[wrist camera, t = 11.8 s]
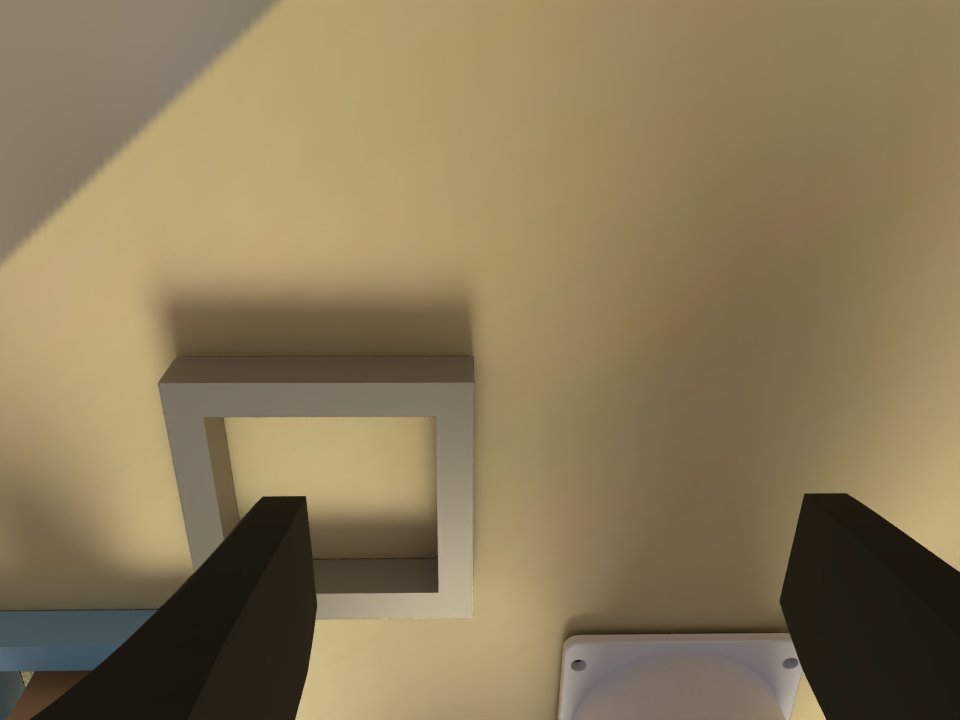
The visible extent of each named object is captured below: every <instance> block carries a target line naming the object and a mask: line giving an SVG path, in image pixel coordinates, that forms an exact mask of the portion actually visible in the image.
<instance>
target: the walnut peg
mask: <svg viewBox="0 0 960 720" xmlns="http://www.w3.org/2000/svg"><path fill="white" fill-rule="evenodd" d="M91 671H92V670H84V671H35V673H34V674H33V676H32V678H31V679H30V681H29V683H28V684H27V686H26V688H25V690H24V691H23V693H22V695H21V696H20V698H19V700H18V701H17V703H16V705H15V706H14V708H13V710H12V712H11V713H10V715H9V717H8V718H7V720H29V719H31V718H32V717H33V716H35V715H36V714H38V713H39V712H40V711H42V710H43V709H45V708H46V707H47V706H49V705H50V704H51V703H53V702H54V701H55V700H56V699H58V698H59V697H60V696H62V695H63V694H64V693H65V692H67V691H68V690H69V689H70V688H72V687H73V686H74V685H75V684H76V683H78V682H79V681H80V680H81V679H83V678H84V677H85V676H86V675H88V674H89V673H90V672H91Z"/></svg>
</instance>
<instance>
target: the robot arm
mask: <svg viewBox="0 0 960 720" xmlns="http://www.w3.org/2000/svg"><path fill="white" fill-rule="evenodd" d="M780 605H781V608H782V611H783V614H784V617H785V620H786V624H787V627H788V630H789V633H733V634H630V635H576V636H572V637H570V638H568V639H567V640H566V641H565V642H564V645H563V653H562V666H561V679H560V693H559V706H558V719H557V720H790V717H791V713H792V710H793V706H794V702H795V698H796V694H797V690H798V687H799V683H800V679H801V675H802V671H804V674H805V676H806V678H807V680H808V682H809V684H810V686H811V688H812V691H813V693H814V695H815V697H816V699H817V701H818V703H819V705H820V707H821V709H822V711H823V713H824V715H825V717H826V720H960V572H959V571H957V570H956V569H954V568H953V567H952V566H950V565H949V564H947V563H946V562H944V561H943V560H942V559H940V558H939V557H937V556H936V555H935V554H933V553H932V552H930V551H929V550H928V549H926V548H925V547H923V546H922V545H921V544H919V543H918V542H916V541H915V540H914V539H912V538H911V537H909V536H908V535H907V534H905V533H904V532H902V531H901V530H900V529H898V528H897V527H895V526H894V525H893V524H891V523H890V522H888V521H887V520H885V519H884V518H883V517H881V516H880V515H878V514H877V513H875V512H874V511H872V510H871V509H870V508H868V507H867V506H865V505H864V504H862V503H861V502H859V501H857V500H856V499H854V498H853V497H851V496H849V495H848V494H846V493H832V494H804V498H803V502H802V506H801V511H800V515H799V519H798V524H797V528H796V532H795V537H794V541H793V545H792V549H791V554H790V558H789V562H788V567H787V571H786V575H785V580H784V584H783V588H782V593H781V597H780ZM316 612H317V597H316V587H315V578H314V569H313V559H312V550H311V540H310V531H309V521H308V512H307V503H306V496H280V497H262V498H261V499H260V500H259V501H258V502H257V503H256V504H255V505H254V506H253V507H252V508H251V510H250V511H249V512H248V513H247V514H246V515H245V516H244V518H243V519H242V520H241V521H240V522H239V523H238V525H237V526H236V527H235V528H234V529H233V530H232V531H231V533H230V534H229V535H228V536H227V537H226V538H225V539H224V541H223V542H222V543H221V544H220V545H219V546H218V547H217V548H216V549H215V551H214V552H213V553H212V554H211V555H210V556H209V557H208V558H207V559H206V561H205V562H204V563H203V564H202V565H201V566H200V567H199V568H198V569H197V570H196V571H195V572H194V573H193V574H192V575H191V576H190V578H189V579H188V580H187V581H186V582H185V583H184V584H183V585H182V586H181V587H180V588H179V589H178V590H177V591H176V592H175V593H174V594H173V595H172V597H171V598H170V599H169V600H168V601H167V602H166V603H165V604H164V605H163V606H161V607H160V608H159V609H158V610H157V611H156V612H155V613H154V614H153V615H152V616H151V617H150V618H149V619H148V620H147V621H146V622H145V623H144V624H143V625H142V626H141V627H140V628H139V629H138V630H136V631H135V632H134V633H133V634H132V635H131V636H130V637H129V638H128V639H127V640H126V641H125V642H124V643H123V644H122V645H121V646H120V647H118V648H117V649H116V650H115V651H114V652H113V653H112V654H111V655H109V656H108V657H107V658H106V659H105V660H104V661H103V662H102V663H100V664H99V665H98V666H97V667H96V668H95V669H93V670H92V671H91V672H90V673H89V674H88V675H86V676H85V677H84V678H83V679H81V680H80V681H79V682H78V683H76V684H75V685H74V686H73V687H72V688H70V689H69V690H68V691H67V692H65V693H64V694H63V695H62V696H60V697H59V698H58V699H56V700H55V701H54V702H53V703H51V704H50V705H49V706H47V707H46V708H45V709H43V710H42V711H40V712H39V713H38V714H36V715H35V716H33V717H32V718H31V719H29V720H295V718H296V714H297V710H298V706H299V703H300V699H301V695H302V691H303V688H304V684H305V680H306V676H307V672H308V666H309V660H310V654H311V647H312V641H313V633H314V626H315V619H316ZM787 658H790V659H787ZM786 659H787V660H786ZM575 660H582V661H580V662H574V661H575Z"/></svg>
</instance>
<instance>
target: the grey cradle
mask: <svg viewBox="0 0 960 720" xmlns="http://www.w3.org/2000/svg"><path fill="white" fill-rule="evenodd" d="M158 387H159V392H160V397H161V402H162V408H163V413H164V418H165V423H166V429H167V434H168V439H169V444H170V449H171V455H172V460H173V465H174V470H175V475H176V481H177V486H178V491H179V496H180V501H181V507H182V512H183V517H184V522H185V528H186V533H187V538H188V543H189V548H190V554H191V559H192V564H193V569H194V572H195V571H196V570H197V569H198V568H199V567H200V566H201V565H202V564H203V563H204V562H205V561H206V559H207V558H208V557H209V556H210V555H211V554H212V553H213V552H214V551H215V549H216V548H217V547H218V546H219V545H220V544H221V543H222V542H223V541H224V539H225V538H226V537H227V536H228V535H229V534H230V533H231V531H232V530H233V529H234V528H235V527H236V526H237V525H238V523H239V517H238V510H237V504H236V497H235V491H234V484H233V478H232V471H231V465H230V458H229V452H228V445H227V439H226V432H225V426H224V420H223V417H436V467H437V524H438V559H327V560H313V569H314V578H315V587H316V597H317V612H316V619H422V618H473V488H474V360H473V357H176V358H175V360H174V361H173V362H172V364H171V365H170V367H169V368H168V370H167V371H166V372H165V374H164V375H163V377H162V378H161V379H160V381H159V382H158Z"/></svg>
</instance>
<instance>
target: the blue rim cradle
mask: <svg viewBox="0 0 960 720" xmlns="http://www.w3.org/2000/svg"><path fill="white" fill-rule="evenodd" d="M156 611H157V610H95V611H0V720H7V718H8V717H9V715H10V713H11V712H12V710H13V708H14V706H15V705H16V703H17V701H18V700H19V698H20V696H21V695H22V693H23V691H24V690H25V687H24V684H23V681H22V678H21V675H20V672H19V671H84V670H93V669H95V668H96V667H97V666H98V665H99V664H100V663H102V662H103V661H104V660H105V659H106V658H107V657H108V656H109V655H111V654H112V653H113V652H114V651H115V650H116V649H117V648H118V647H120V646H121V645H122V644H123V643H124V642H125V641H126V640H127V639H128V638H129V637H130V636H131V635H132V634H133V633H134V632H135V631H136V630H138V629H139V628H140V627H141V626H142V625H143V624H144V623H145V622H146V621H147V620H148V619H149V618H150V617H151V616H152V615H153V614H154V613H155V612H156Z"/></svg>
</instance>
